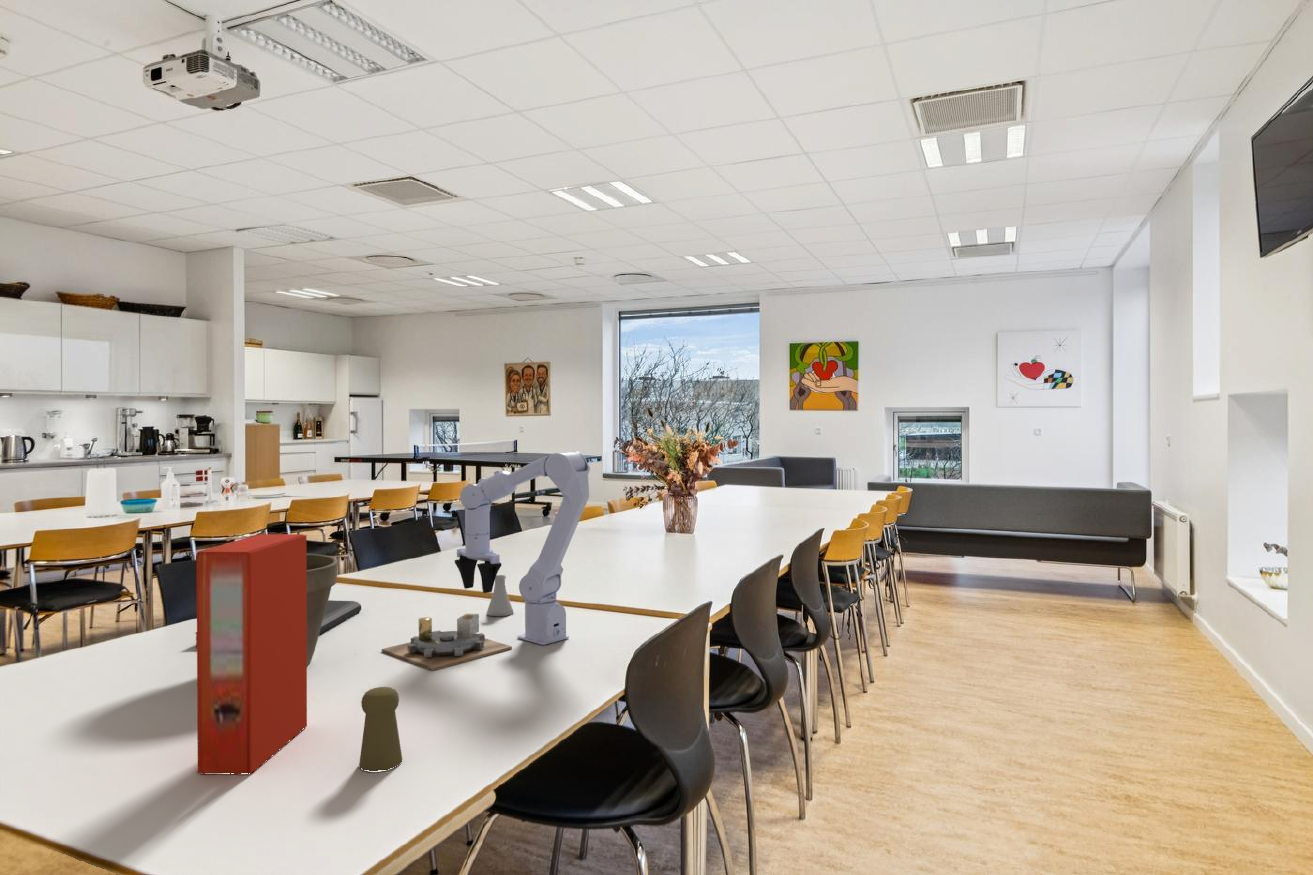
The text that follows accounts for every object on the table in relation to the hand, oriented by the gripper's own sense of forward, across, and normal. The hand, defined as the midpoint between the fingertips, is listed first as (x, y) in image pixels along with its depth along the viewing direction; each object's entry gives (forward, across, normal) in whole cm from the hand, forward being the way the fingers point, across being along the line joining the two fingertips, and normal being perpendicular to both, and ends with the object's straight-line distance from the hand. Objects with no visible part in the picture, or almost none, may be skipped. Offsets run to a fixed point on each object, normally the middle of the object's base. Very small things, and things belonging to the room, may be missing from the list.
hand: (478, 590), depth 188 cm
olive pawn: (+10, -50, +53) cm, 74 cm away
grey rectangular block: (+8, -8, +8) cm, 14 cm away
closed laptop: (+11, +38, +30) cm, 50 cm away
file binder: (+10, -31, +63) cm, 71 cm away
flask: (+10, +10, -14) cm, 20 cm away
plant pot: (+10, +9, +44) cm, 46 cm away
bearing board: (+10, -8, +14) cm, 19 cm away
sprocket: (+10, -8, +14) cm, 19 cm away
